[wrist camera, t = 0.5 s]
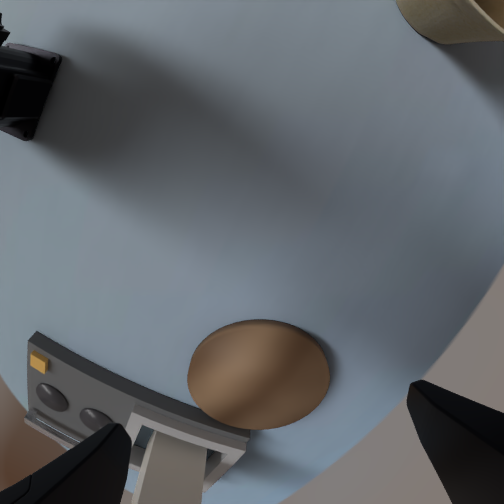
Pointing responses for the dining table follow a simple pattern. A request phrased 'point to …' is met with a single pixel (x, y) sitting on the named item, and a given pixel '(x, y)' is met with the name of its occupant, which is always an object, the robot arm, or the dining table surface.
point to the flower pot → (455, 19)
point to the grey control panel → (120, 407)
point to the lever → (48, 430)
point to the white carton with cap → (170, 472)
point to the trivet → (258, 374)
